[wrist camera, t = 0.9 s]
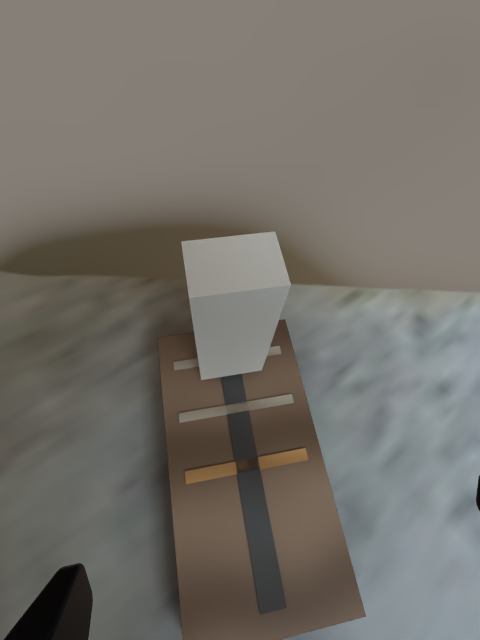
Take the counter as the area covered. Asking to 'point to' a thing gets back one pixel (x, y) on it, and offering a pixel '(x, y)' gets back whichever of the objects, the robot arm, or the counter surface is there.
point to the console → (251, 501)
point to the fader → (234, 300)
